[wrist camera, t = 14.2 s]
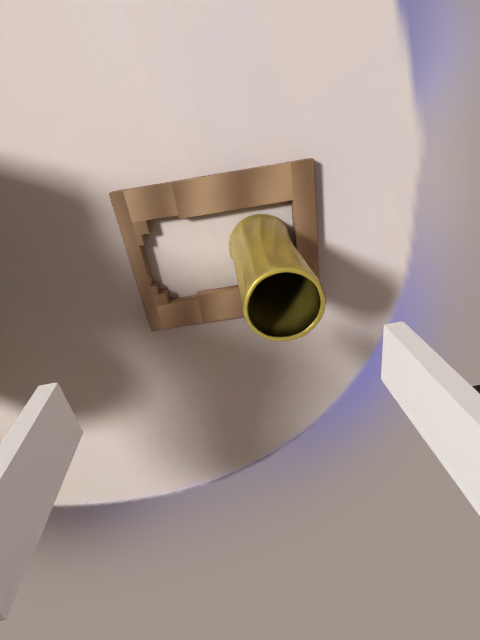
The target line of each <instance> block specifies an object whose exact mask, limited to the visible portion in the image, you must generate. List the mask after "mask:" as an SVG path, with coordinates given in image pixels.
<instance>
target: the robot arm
mask: <svg viewBox="0 0 480 640" xmlns="http://www.w3.org/2000/svg"><path fill="white" fill-rule="evenodd" d="M381 380H382V381H383V383H384V384H385V385H386V387H387V388H388V390H389V391H390V392H391V394H392V395H393V397H394V398H395V399H396V401H397V402H398V404H399V405H400V406H401V408H402V409H403V410H404V412H405V413H406V415H407V416H408V417H409V419H410V420H411V422H412V423H413V424H414V425H415V427H416V428H417V430H418V431H419V432H420V434H421V435H422V437H423V438H424V440H425V441H426V442H427V444H428V445H429V446H430V448H431V449H432V451H433V452H434V453H435V455H436V456H437V457H438V459H439V460H440V462H441V463H442V465H444V467H445V469H446V470H447V471H448V473H449V474H450V476H451V477H452V478H453V480H454V481H455V482H456V484H457V485H458V487H459V488H460V489H461V491H462V492H463V493H464V495H465V496H466V498H467V499H468V500H469V502H470V503H471V505H472V506H473V507H474V509H475V510H476V511H477V513H478V514H479V516H480V385H477V386H471V385H470V384H469V383H468V382H467V381H466V380H465V379H464V378H462V377H461V376H460V375H459V374H458V373H457V372H456V371H455V370H454V369H453V368H452V367H451V366H450V365H449V364H447V362H445V361H444V360H443V359H442V358H441V357H440V356H439V355H438V354H437V353H436V352H435V351H434V350H432V348H431V347H430V346H428V345H427V344H426V343H425V342H424V341H423V340H422V339H421V338H420V337H419V336H418V335H417V334H416V333H415V332H414V331H413V330H411V329H410V328H409V327H408V326H407V325H406V324H405V323H404V322H396V323H391V324H385V325H384V333H383V352H382V370H381ZM82 434H83V431H82V429H81V427H80V425H79V423H78V421H77V419H76V417H75V415H74V413H73V411H72V409H71V407H70V405H69V403H68V401H67V399H66V397H65V395H64V393H63V391H62V389H61V387H60V385H59V384H58V382H57V383H51V384H45V385H40V386H38V387H37V389H36V390H35V392H34V393H33V395H32V396H31V398H30V400H29V401H28V403H27V404H26V406H25V407H24V409H23V410H22V412H21V413H20V415H19V416H18V418H17V419H16V421H15V422H14V424H13V425H12V427H11V428H10V430H9V431H8V433H7V434H6V436H5V437H4V439H3V440H2V442H1V443H0V621H3V620H6V619H7V617H8V614H9V612H10V610H11V607H12V605H13V602H14V600H15V597H16V595H17V592H18V590H19V587H20V585H21V583H22V580H23V578H24V575H25V573H26V570H27V568H28V566H29V563H30V560H31V558H32V556H33V553H34V551H35V549H36V546H37V543H38V541H39V539H40V536H41V534H42V531H43V529H44V526H45V524H46V522H47V519H48V517H49V514H50V512H51V509H52V507H53V505H54V502H55V500H56V497H57V495H58V492H59V490H60V487H61V485H62V483H63V480H64V478H65V475H66V473H67V470H68V468H69V466H70V463H71V461H72V458H73V456H74V453H75V451H76V448H77V446H78V444H79V441H80V439H81V436H82Z"/></svg>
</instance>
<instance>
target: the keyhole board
mask: <svg viewBox="0 0 480 640" xmlns="http://www.w3.org/2000/svg"><path fill="white" fill-rule="evenodd" d="M109 195H110V199H111V202H112V205H113V208H114V211H115V215H116V218H117V221H118V224H119V227H120V231H121V234H122V237H123V240H124V244H125V247H126V250H127V253H128V256H129V260H130V263H131V266H132V269H133V273H134V276H135V279H136V282H137V285H138V289H139V292H140V295H141V298H142V302H143V305H144V308H145V311H146V314H147V318H148V321H149V324H150V327H151V330H152V331H156V330H162V329H168V328H175V327H181V326H187V325H193V324H200V323H206V322H212V321H218V320H225V319H231V318H237V317H243V316H244V313H243V310H242V301H241V294H240V289H239V285H236V286H230V287H224V288H218V289H212V290H205V291H199V292H197V295H194V296H188V297H182V298H175V299H170V297H169V294H168V290H167V289H164V290H160V288H159V284H158V282H153V281H152V277H151V274H150V271H149V267H148V264H147V260H146V257H145V253H144V250H143V246H142V245H144V244H145V243H146V238H145V234H149V233H150V232H151V227H150V223H149V220H152V219H158V218H164V217H170V216H176V215H178V216H179V219H182V218H188V217H194V216H200V215H206V214H212V213H218V212H224V211H230V210H236V209H242V208H248V207H254V206H260V205H266V204H272V203H278V202H284V201H290V200H291V205H292V218H293V231H294V243H295V248H296V250H297V251H298V252H299V253H300V254H301V256H302V257H303V259H304V260H305V262H306V263H307V265H308V266H309V267H310V269H311V270H312V271H313V273H314V274H315V275H316V277H317V278H318V280H319V264H318V243H317V221H316V199H315V177H314V159H311V158H309V159H303V160H297V161H291V162H285V163H279V164H273V165H267V166H261V167H256V168H250V169H244V170H238V171H232V172H226V173H220V174H214V175H208V176H202V177H196V178H190V179H184V180H178V181H172V182H166V183H160V184H154V185H149V186H143V187H137V188H131V189H125V190H119V191H113V192H111V193H109Z"/></svg>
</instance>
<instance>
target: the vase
mask: <svg viewBox="0 0 480 640" xmlns="http://www.w3.org/2000/svg"><path fill="white" fill-rule="evenodd" d="M229 250H230V255H231V258H232V260H233V263H234V267H235V270H236V275H237V280H238V285H239V289H240V294H241V301H242V310H243V313H244V317H245V319H246V321H247V323H248V325H249V327H250V328H251V329H252V330H253V331H254V332H255V333H257V334H258V335H259V336H261V337H262V338H265V339H267V340H271V341H290V340H294V339H297V338H300V337H302V336H304V335H306V334H307V333H309V332H310V331H311V330H312V329H313V328H314V327H315V326H316V325H317V324H318V322H319V321H320V320H321V318H322V316H323V313H324V309H325V295H324V292H323V289H322V286H321V284H320V282H319V280H318V278H317V277H316V275H315V274H314V273H313V271H312V270H311V269H310V267H309V266H308V265H307V263H306V262H305V260H304V259H303V257H302V256H301V254H300V253H299V252H298V251H297V250H296V248H295V246H294V245H293V243H292V241H291V237H290V234H289V231H288V229H287V227H286V226H285V225H284V224H283V223H282V222H281V221H280V220H279V219H278V218H276V217H274V216H271V215H267V214H255V215H252V216H249V217H247V218H245V219H243V220H242V221H241V222H239V223H238V225H237V226H236V227H235V229H234V230H233V232H232V234H231V237H230V241H229Z"/></svg>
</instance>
